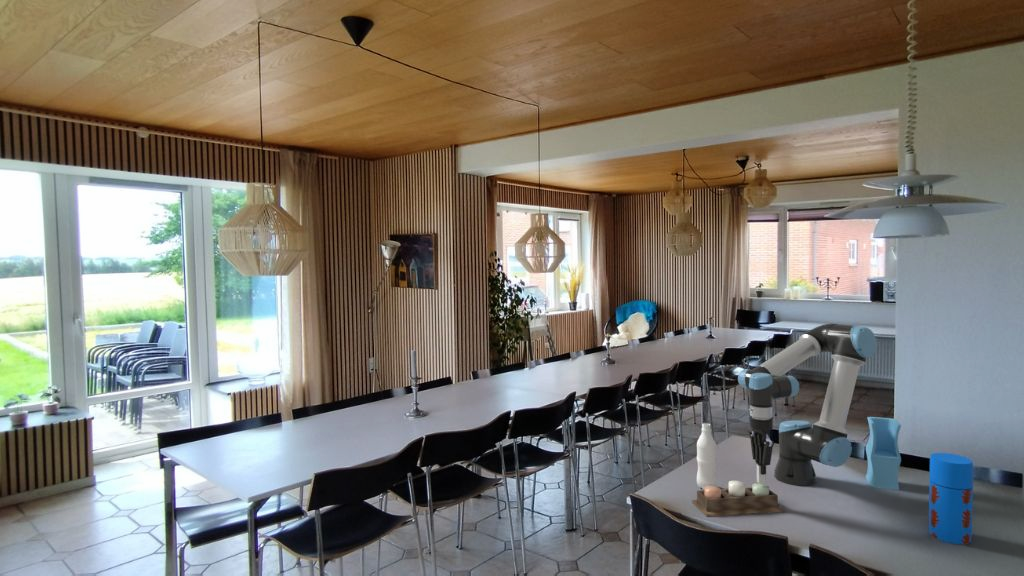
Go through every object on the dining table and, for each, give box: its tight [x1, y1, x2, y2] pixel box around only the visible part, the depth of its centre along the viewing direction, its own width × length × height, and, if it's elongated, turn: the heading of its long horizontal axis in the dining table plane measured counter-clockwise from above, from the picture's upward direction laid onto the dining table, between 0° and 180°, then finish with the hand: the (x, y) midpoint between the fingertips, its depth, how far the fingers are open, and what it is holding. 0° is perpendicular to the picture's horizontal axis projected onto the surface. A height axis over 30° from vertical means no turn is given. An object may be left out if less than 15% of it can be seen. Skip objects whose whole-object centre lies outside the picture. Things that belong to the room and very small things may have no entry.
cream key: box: [728, 480, 746, 497], centre depth 205 cm, size 6×6×5 cm
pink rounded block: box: [705, 486, 721, 499], centre depth 204 cm, size 6×6×5 cm
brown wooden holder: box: [691, 487, 784, 517], centre depth 205 cm, size 28×12×5 cm, turn 96°
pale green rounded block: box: [751, 482, 770, 496], centre depth 206 cm, size 6×6×5 cm
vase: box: [865, 416, 902, 491], centre depth 224 cm, size 10×10×25 cm
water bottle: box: [696, 422, 717, 490], centre depth 222 cm, size 7×7×25 cm
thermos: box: [928, 452, 974, 545], centre depth 181 cm, size 11×11×25 cm
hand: (761, 482), depth 206 cm, fingers closed
